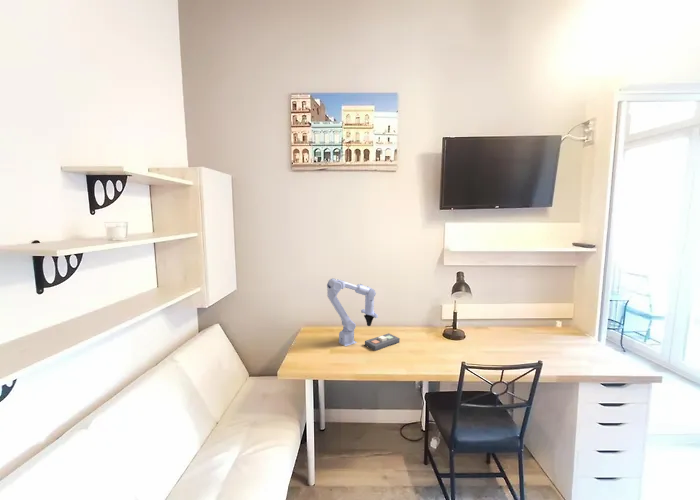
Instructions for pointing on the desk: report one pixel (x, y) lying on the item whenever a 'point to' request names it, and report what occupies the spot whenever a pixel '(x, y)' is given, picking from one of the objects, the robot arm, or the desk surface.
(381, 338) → the cream key
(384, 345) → the keypad
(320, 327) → the desk surface
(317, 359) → the desk surface
